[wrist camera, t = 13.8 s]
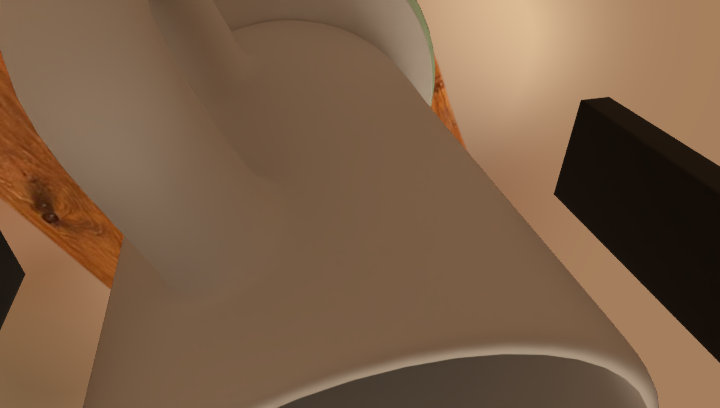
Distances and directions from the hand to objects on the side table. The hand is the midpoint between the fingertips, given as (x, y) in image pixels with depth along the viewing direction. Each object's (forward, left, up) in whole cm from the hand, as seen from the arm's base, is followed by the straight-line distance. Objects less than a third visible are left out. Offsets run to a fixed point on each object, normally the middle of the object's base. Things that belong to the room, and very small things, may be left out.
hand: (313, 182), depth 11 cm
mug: (0, -1, -5) cm, 5 cm away
